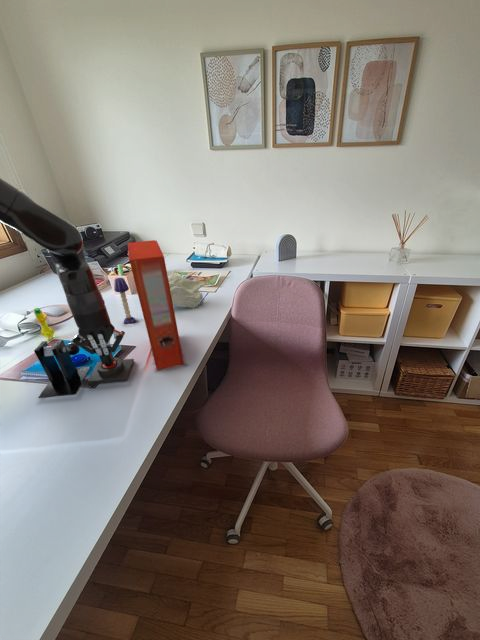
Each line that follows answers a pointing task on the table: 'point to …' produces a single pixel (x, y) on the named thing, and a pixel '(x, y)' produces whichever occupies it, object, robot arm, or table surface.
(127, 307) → the toy lamp
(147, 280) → the file binder
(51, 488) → the table surface
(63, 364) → the black stand
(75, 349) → the lever
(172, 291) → the wavy plaster lump
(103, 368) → the disc
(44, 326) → the toy figure
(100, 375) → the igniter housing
